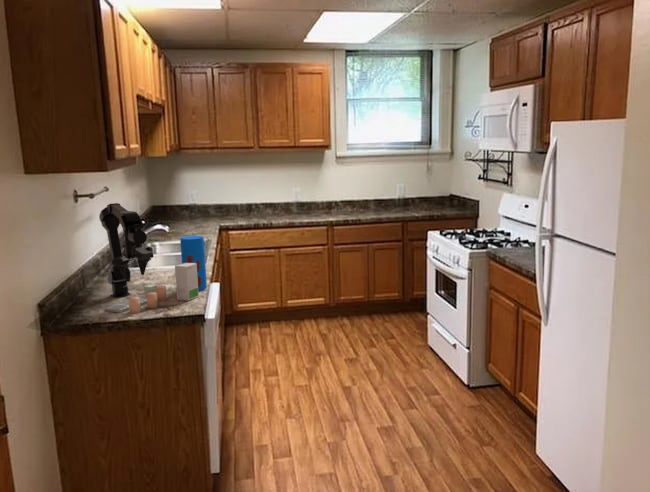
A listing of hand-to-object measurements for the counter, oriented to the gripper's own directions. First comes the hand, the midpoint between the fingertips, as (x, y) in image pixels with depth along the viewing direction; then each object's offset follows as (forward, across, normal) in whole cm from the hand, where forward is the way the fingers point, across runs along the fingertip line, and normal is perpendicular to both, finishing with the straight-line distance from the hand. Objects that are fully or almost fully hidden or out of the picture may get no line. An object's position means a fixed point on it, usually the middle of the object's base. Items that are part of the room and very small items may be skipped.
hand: (134, 277), depth 233 cm
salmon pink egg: (+12, 0, -9) cm, 15 cm away
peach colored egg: (+12, -8, -7) cm, 16 cm away
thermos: (+12, +31, -7) cm, 34 cm away
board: (+12, -2, +2) cm, 13 cm away
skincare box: (+12, +17, -14) cm, 25 cm away
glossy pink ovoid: (+12, +10, -5) cm, 16 cm away
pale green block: (+12, +13, +4) cm, 18 cm away
